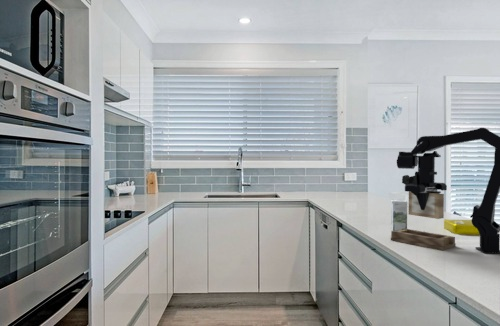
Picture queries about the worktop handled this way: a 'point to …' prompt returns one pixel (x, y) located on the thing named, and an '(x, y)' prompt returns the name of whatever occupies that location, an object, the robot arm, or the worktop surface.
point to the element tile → (460, 227)
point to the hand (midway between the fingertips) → (425, 209)
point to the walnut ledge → (423, 239)
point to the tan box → (427, 206)
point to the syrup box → (398, 215)
